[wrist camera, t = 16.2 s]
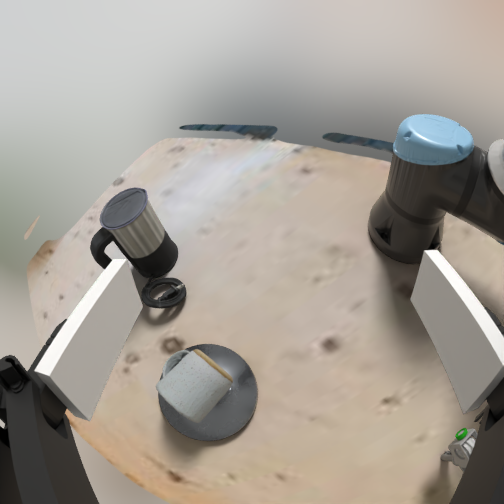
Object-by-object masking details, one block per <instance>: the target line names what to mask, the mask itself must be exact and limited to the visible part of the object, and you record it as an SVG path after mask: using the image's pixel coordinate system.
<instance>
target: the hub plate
mask: <svg viewBox="0 0 504 504" xmlns="http://www.w3.org/2000/svg"><path fill="white" fill-rule="evenodd" d="M195 349H199V350H201V351H202V352H203V353H204V354H206V355H207V356H208V357H209V358H211V359H212V360H213V361H214V362H215V363H216V364H218V365H219V366H220V367H221V368H222V369H223V370H225V371H226V372H227V373H228V374H229V375H230V376H231V377H232V378H233V383H232V385H231V387H230V388H229V390H228V391H227V392H226V394H225V395H224V396H223V397H222V398H221V399H220V400H219V401H218V402H217V404H216V405H215V406H214V407H213V408H212V410H211V411H210V412H209V413H208V414H207V415H206V416H205V417H204V418H203V420H202V421H201V422H200V423H196V422H193V421H191V420H189V419H187V418H186V417H185V416H183V415H181V414H180V413H179V412H177V411H176V410H175V409H174V408H173V407H172V406H171V405H170V404H169V403H168V402H167V401H166V400H165V399H164V398H163V397H162V396H161V395H160V393H159V392H158V397H159V403H160V406H161V409H162V412H163V414H164V416H165V417H166V419H167V420H168V422H169V423H170V424H171V425H172V426H173V427H174V428H175V429H176V430H177V431H179V432H180V433H182V434H184V435H185V436H188V437H190V438H193V439H197V440H203V441H213V440H220V439H224V438H227V437H229V436H231V435H234V434H235V433H237V432H238V431H240V430H241V429H242V428H243V427H244V426H245V425H246V424H247V423H248V422H249V420H250V419H251V417H252V415H253V413H254V411H255V408H256V405H257V399H258V388H257V382H256V379H255V376H254V374H253V372H252V370H251V368H250V367H249V366H248V364H247V363H246V362H245V361H244V360H243V359H242V358H241V357H240V356H239V355H238V354H237V353H235V352H234V351H232V350H230V349H228V348H226V347H223V346H219V345H214V344H202V345H196V346H192V347H189V348H187V349H185V350H186V351H189V352H191V351H193V350H195ZM180 361H181V360H180ZM180 361H179V362H180ZM179 362H178V363H179ZM178 363H177V364H178ZM177 364H175V365H174V366H173V368H174V367H175V366H176V365H177ZM173 368H172V369H173ZM162 379H163V373H162V375H161V378H160V380H162Z"/></svg>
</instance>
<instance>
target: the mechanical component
mask: <svg viewBox="0 0 504 504" xmlns="http://www.w3.org/2000/svg"><path fill="white" fill-rule="evenodd" d="M470 435H471V436H473V437H474V438H475V439H476V438H477V435H478V434H477V432H476V430H475V429H466V428H463V429H461V430H460V431H459V432H458V433H457V434H456V436H455V437H456V439H455V440H454V441H453V442H452V443H451V444H450V445H449V446H448V448H449V450H450V451H445V454H442V455H441V459H442V460H444V461H452V462H453V464H454V465H456V466H460V468H461V469H462V471H463V473H464V471H465V469H466V466H467V464H468V461H469V458H470V456H471V453H472V450H473V447H474V444H475V440H474V439H473V438H472V437H470Z"/></svg>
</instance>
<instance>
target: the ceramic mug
mask: <svg viewBox="0 0 504 504" xmlns="http://www.w3.org/2000/svg"><path fill="white" fill-rule="evenodd" d="M180 360H181V361H180ZM179 361H180V362H179ZM178 362H179V363H178ZM177 363H178V364H177ZM175 364H177V365H176V366H175V367H174V368H173V366H174V365H175ZM172 368H173V369H172ZM232 383H233V378H232V377H231V376H230V375H229V374H228V373H227V372H226V371H225V370H223V369H222V368H221V367H220V366H219V365H218V364H216V363H215V362H214V361H213V360H212V359H211V358H209V357H208V356H207V355H206V354H204V353H203V352H202V351H201V350H199V349H195V350H193V351H191V352H189V351H186V350H182V351H179V352H176V353H175V354H173V355H172V356H171V357H170V358H169V359H168V360H167V361H166V363H165V365H164V367H163V379H162V380H160V381H159V382H158V383H157V385H156V388H157V390H158V392H159V393H160V395H161V396H162V397H163V398H164V399H165V400H166V401H167V402H168V403H169V404H170V405H171V406H172V407H173V408H174V409H175V410H176V411H177V412H179V413H180V414H181V415H183V416H185V417H186V418H187V419H189V420H191V421H193V422H196V423H200V422H201V421H202V420H203V418H204V417H205V416H206V415H207V414H208V413H209V412H210V411H211V410H212V408H213V407H214V406H215V405H216V404H217V402H218V401H219V400H220V399H221V398H222V397H223V396H224V395H225V394H226V392H227V391H228V390H229V388H230V387H231V385H232Z"/></svg>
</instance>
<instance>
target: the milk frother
mask: <svg viewBox="0 0 504 504" xmlns="http://www.w3.org/2000/svg"><path fill="white" fill-rule="evenodd" d="M100 223H101V225H102V226H103V227H102V228H101V229H100V230H99V231H98V232H97V233H96V234H95V235H94V237H93V238H92V241H91V246H90V250H91V253H92V255H93V257H94V259H95V261H96V262H97V263H98V264H99V265H100V266H101V267H102V268H103V269H104V270H105V269H106V268H107V266H108V265H109V264H110V263H111V261H112V260H111V259H110V258H109V257H108V256H107V255H106V254H105V253H104V250H105V248H106V246H107V245H108V244H110V243H111V242H112V241H114V242H115V244H116V245H117V246H118V248H119V249H120V251H121V252H122V253H123V254H124V255H125V257H126V258H127V259H128V260H129V261H130V262H131V264H132V265H133V266H134V267H135V268H136V270H138V272H139V273H140V274H141V275H142V276H144V277H147V278H150V279H149V281H148V282H147V284H146V285H145V287H144V288H143V290H142V300H143V302H144V303H145V304H146V305H147V306H149V307H153V308H170V307H173V306H175V305H178V304H179V303H180V302H182V301H183V299H184V298H185V296H186V288H185V285H184V284H183V283H182V282H181V281H180V280H178V279H176V278H161V279H158V280H155V281H153V282H151V280H152V279H153V278H155V277H159V276H161V275H163V274H165V273H166V272H168V271H169V270H170V269H171V268H172V267H173V265H174V264H175V262H176V260H177V257H178V248H177V246H176V244H175V243H174V242H173V241H172V240H171V239H170V237H169V236H168V234H167V232H166V231H165V229H164V227H163V226H162V224H161V222H160V220H159V218H158V217H157V215H156V213H155V211H154V209H153V208H152V206H151V204H150V202H149V200H148V196H147V192H146V190H145V189H141V188H130V189H127V190H124V191H122V192H120V193H118V194H117V195H115V196H114V197H113V198H112V199H111V200H110V201H109V202H108V203H107V204H106V205H105V207H104V208H103V210H102V212H101V215H100ZM150 282H151V283H150ZM149 283H150V284H149ZM162 284H173V285H171V288H169V289H168V290H167V291H166V292H165V293H164V294H163V296H161V297H159V298H158V300H155V299H152V298H151V297H150V292H151V290H152V289H154V288H155V287H157V286H159V285H162ZM174 285H176V286H177V287H175V286H174Z"/></svg>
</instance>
